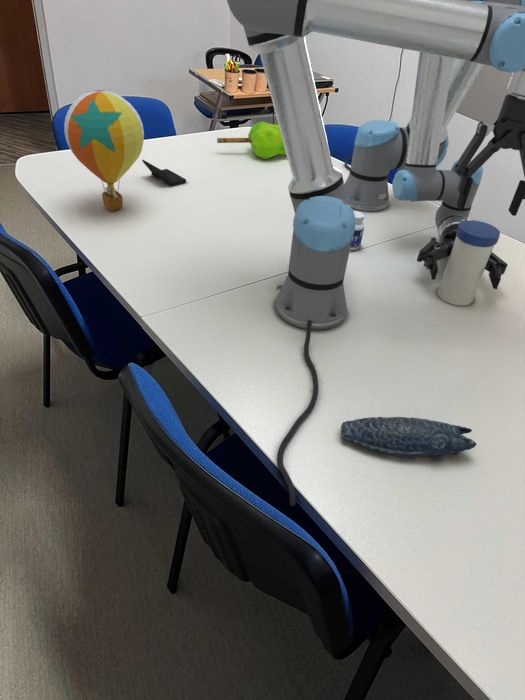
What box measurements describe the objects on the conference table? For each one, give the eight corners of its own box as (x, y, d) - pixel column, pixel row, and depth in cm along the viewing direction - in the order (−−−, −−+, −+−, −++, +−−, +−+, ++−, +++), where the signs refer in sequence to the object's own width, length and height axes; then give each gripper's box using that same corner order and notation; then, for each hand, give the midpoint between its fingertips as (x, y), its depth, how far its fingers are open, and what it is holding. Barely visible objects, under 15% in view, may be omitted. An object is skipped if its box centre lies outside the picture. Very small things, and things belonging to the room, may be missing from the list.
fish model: (474, 470, 81) (484, 449, 78) (339, 453, 82) (344, 431, 79) (465, 439, 86) (475, 417, 83) (339, 423, 87) (344, 401, 84)
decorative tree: (214, 118, 187) (294, 118, 193) (214, 147, 194) (292, 146, 199) (220, 132, 174) (307, 132, 179) (220, 164, 180) (304, 162, 185)
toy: (64, 203, 145) (44, 85, 127) (127, 189, 156) (117, 79, 137) (97, 229, 134) (80, 105, 116) (162, 213, 145) (156, 96, 126)
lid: (489, 230, 116) (493, 221, 115) (502, 248, 109) (505, 240, 108) (451, 227, 116) (454, 218, 115) (461, 245, 109) (464, 236, 108)
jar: (467, 288, 125) (491, 224, 115) (476, 307, 119) (503, 241, 109) (434, 285, 125) (455, 221, 115) (441, 304, 119) (464, 237, 108)
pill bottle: (338, 247, 137) (344, 215, 131) (342, 239, 140) (348, 208, 135) (357, 252, 135) (364, 220, 130) (361, 243, 139) (368, 212, 134)
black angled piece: (190, 175, 164) (173, 153, 156) (179, 193, 163) (161, 172, 155) (166, 170, 170) (147, 148, 162) (155, 188, 169) (136, 167, 161)
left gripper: (470, 94, 92) (435, 212, 106) (598, 107, 92) (546, 223, 106) (460, 85, 98) (428, 198, 112) (581, 97, 98) (534, 208, 112)
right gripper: (500, 257, 133) (516, 301, 117) (402, 243, 136) (405, 284, 119) (510, 230, 129) (530, 272, 112) (409, 216, 131) (413, 255, 114)
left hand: (485, 210), depth 109 cm, fingers open, 10 cm apart
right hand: (465, 279), depth 116 cm, fingers open, 13 cm apart
